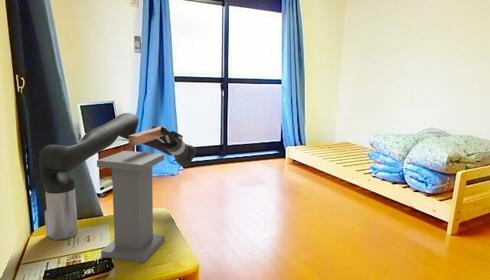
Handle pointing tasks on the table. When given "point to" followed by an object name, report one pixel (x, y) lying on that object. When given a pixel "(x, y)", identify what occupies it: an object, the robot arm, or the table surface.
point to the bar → (145, 136)
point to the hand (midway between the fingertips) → (157, 128)
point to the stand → (132, 206)
